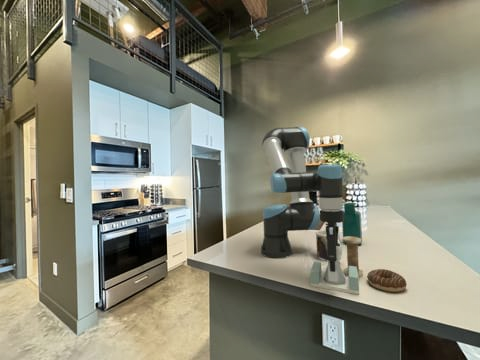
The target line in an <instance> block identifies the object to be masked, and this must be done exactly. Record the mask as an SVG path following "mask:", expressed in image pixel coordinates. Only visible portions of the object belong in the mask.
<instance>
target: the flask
mask: <svg viewBox="0 0 480 360" xmlns="http://www.w3.org/2000/svg"><path fill="white" fill-rule="evenodd" d="M337 254H338V250H336V258H337V268H338V282H334V281H329V280H328V264H327V266H326V269H325V272H324V278H323V279H324V280H325V281H327V282H328V283H333V284H344V283H345V282H346V279H345V277H346V276H345V273H344V272H343V269H342V268H341V265H340V260H339V261H338V257H337ZM331 257H334V256H331Z"/></svg>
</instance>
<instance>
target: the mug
mask: <svg viewBox="0 0 480 360" xmlns="http://www.w3.org/2000/svg"><path fill="white" fill-rule="evenodd" d="M340 235H341V234H340V232H339V233H338V243H340V246H336V247H338V254H339V261H340V260H341V257H342V255H343V247H342V243H341V241H340V239H341V238H340V237H341V236H340ZM315 236H316V237H315V239H316V256H317V258H318V259H320V260H322V261H327V262H328V260H325V257H327V238H326V229H325V230H324V229H323V230H317V231H316V232H315Z"/></svg>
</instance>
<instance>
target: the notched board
mask: <svg viewBox="0 0 480 360" xmlns="http://www.w3.org/2000/svg"><path fill="white" fill-rule="evenodd" d="M312 263H313V264H312V265H311V269H310V286H311V287H315V288H319V289H325V290H326V289H327V290H332V291H338V292H343V293H350V294H356V295H360V287H359V284H360V283H359V282H360V281H359V279H360V278H359V277H358V272H357V267H355V266H349V276H345V279H346V282H345V283H344V284H333V283H328V282H327V281H325V280H324V279H323V278H324V274H325V272H324V273H323V272H322V262H321V261H313V262H312Z"/></svg>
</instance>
